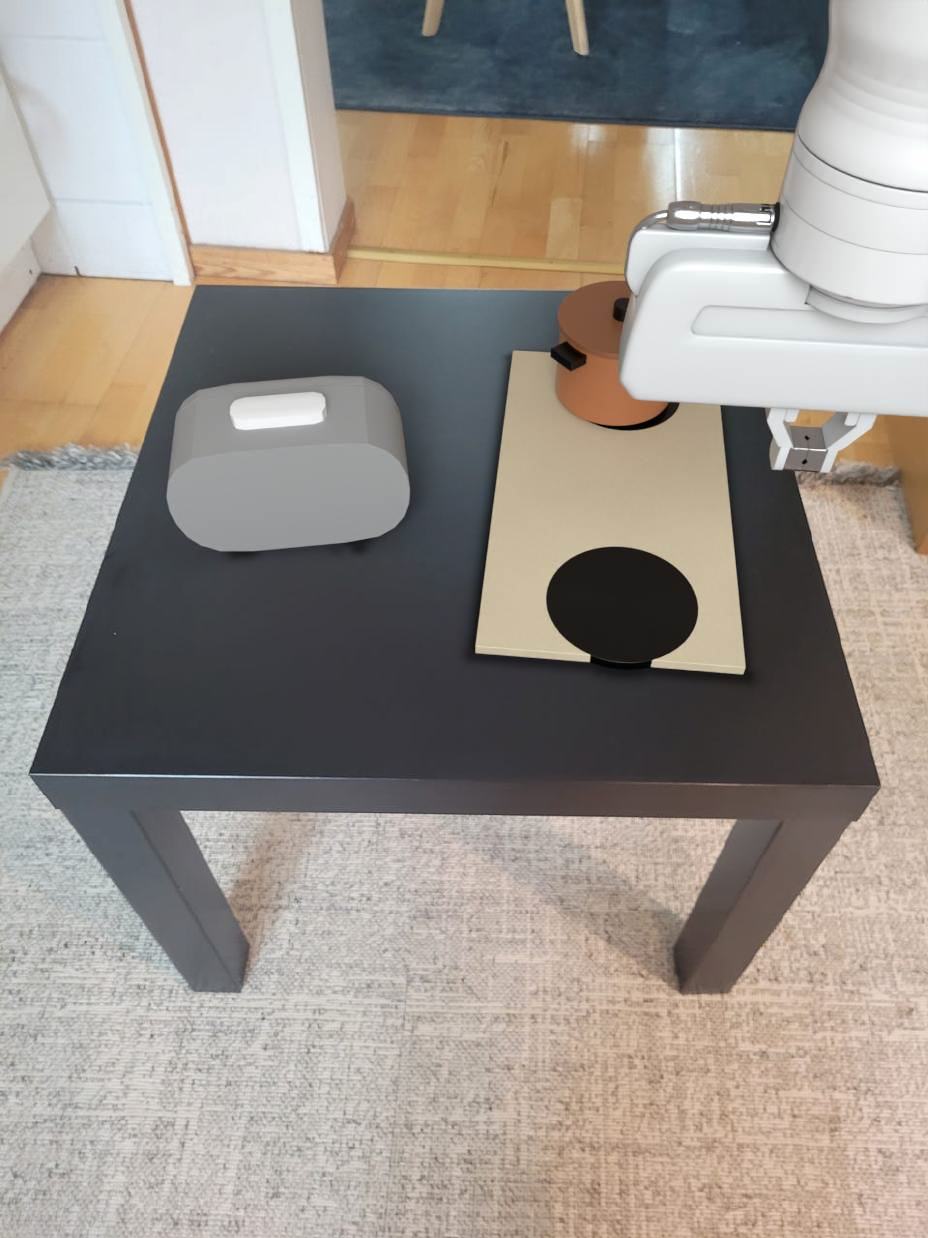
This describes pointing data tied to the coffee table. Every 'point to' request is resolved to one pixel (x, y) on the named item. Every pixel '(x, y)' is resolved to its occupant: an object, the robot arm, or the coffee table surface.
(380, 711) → the coffee table surface
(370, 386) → the alarm clock
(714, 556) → the hob
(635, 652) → the black round disc
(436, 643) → the coffee table surface
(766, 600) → the coffee table surface
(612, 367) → the pot
